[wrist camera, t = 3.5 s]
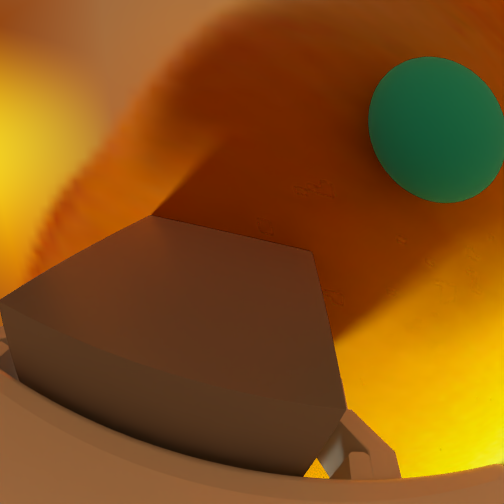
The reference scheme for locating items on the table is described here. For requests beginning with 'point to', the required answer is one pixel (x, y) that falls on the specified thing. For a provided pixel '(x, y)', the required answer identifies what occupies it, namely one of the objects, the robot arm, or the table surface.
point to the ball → (437, 129)
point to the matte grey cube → (186, 344)
